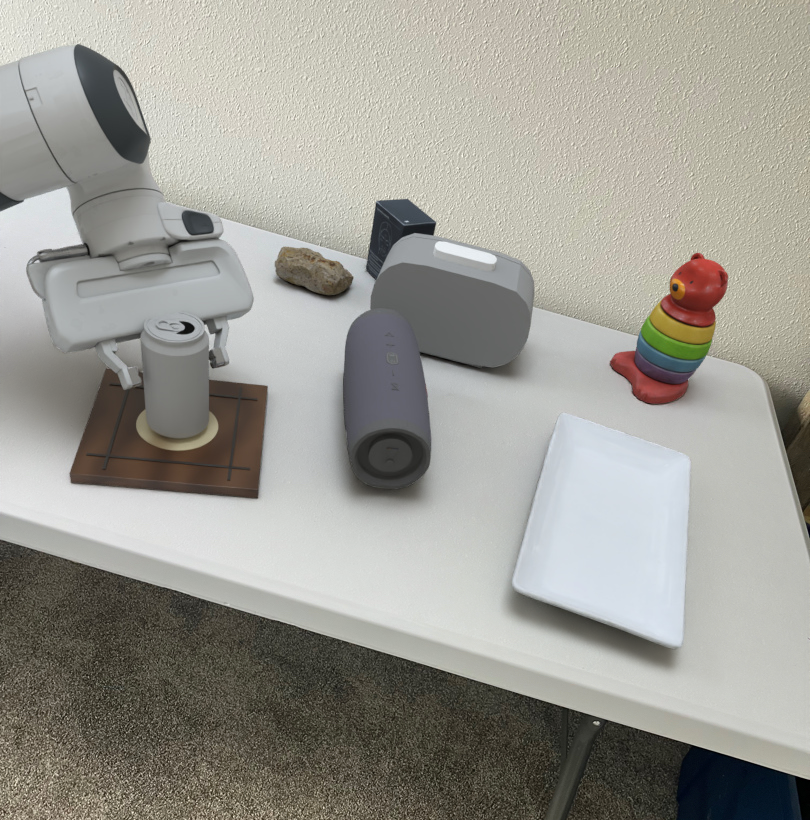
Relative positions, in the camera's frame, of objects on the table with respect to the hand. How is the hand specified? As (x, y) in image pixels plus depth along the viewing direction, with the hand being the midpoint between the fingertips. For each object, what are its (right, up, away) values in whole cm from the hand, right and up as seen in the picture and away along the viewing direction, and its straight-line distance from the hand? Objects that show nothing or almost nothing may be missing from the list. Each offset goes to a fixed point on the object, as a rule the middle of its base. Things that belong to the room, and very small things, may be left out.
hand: (178, 376), depth 78 cm
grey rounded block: (+28, +10, +29) cm, 42 cm away
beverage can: (-2, -4, +5) cm, 7 cm away
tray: (+44, -16, +7) cm, 47 cm away
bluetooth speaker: (+20, -4, +13) cm, 24 cm away
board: (-2, -5, +6) cm, 8 cm away
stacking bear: (+58, +6, +32) cm, 66 cm away
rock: (+9, +20, +34) cm, 41 cm away
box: (+21, +22, +39) cm, 50 cm away
